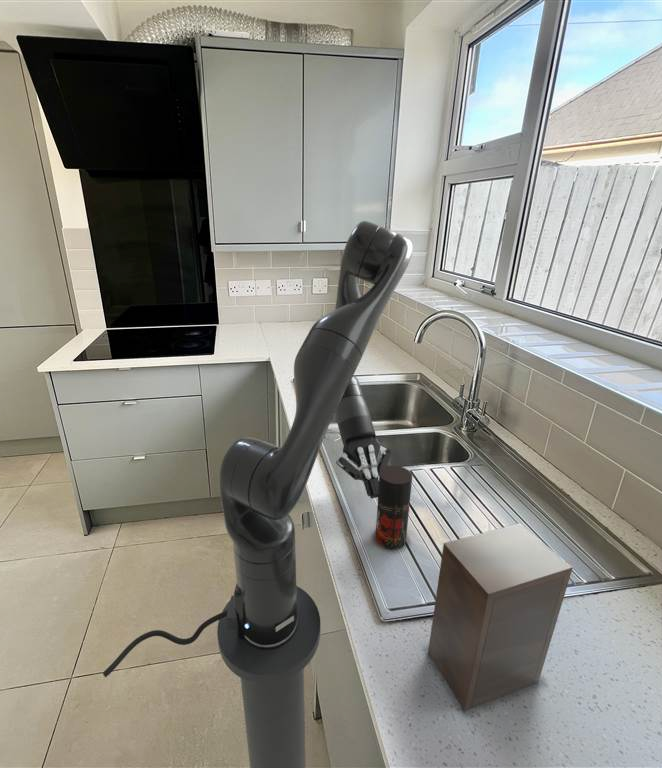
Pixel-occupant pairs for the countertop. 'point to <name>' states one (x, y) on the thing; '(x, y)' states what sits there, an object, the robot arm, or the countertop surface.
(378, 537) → the deodorant
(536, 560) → the tall brown cuboid
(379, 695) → the countertop surface
